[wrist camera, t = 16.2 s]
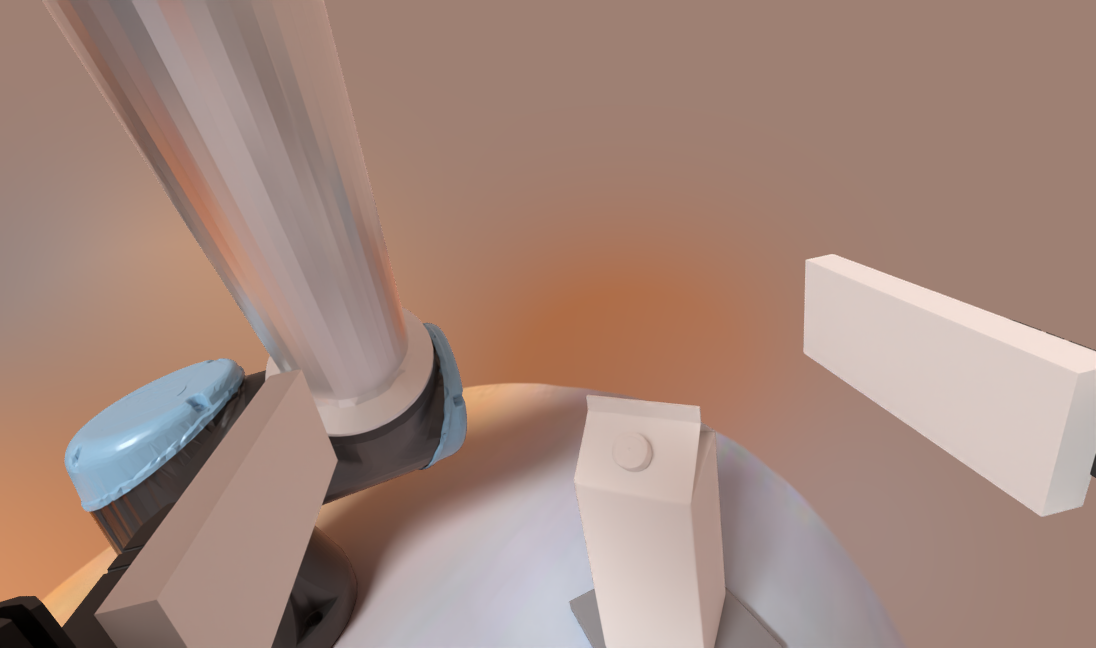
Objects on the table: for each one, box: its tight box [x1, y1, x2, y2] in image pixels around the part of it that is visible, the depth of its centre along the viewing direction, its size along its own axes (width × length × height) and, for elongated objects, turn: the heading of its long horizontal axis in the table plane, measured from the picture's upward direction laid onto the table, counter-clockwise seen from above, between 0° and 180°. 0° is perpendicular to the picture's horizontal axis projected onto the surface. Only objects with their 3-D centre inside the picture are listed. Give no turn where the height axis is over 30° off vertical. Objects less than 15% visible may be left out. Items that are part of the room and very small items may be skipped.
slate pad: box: [569, 587, 783, 648], centre depth 39 cm, size 11×11×1 cm
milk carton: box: [574, 395, 726, 648], centre depth 35 cm, size 7×7×19 cm
